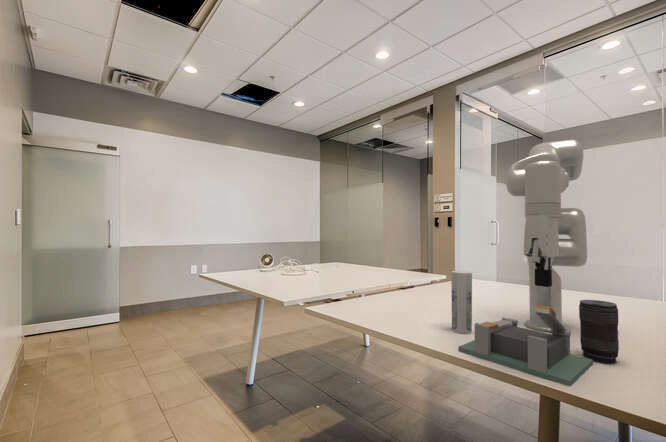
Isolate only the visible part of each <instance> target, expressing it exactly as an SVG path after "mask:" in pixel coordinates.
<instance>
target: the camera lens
mask: <svg viewBox="0 0 666 442" xmlns="http://www.w3.org/2000/svg"><path fill="white" fill-rule="evenodd" d="M578 311H579V312H578V313H579V314H578V317H579V322H580V328H579V329H580V336H579V337H580V338H579V340H580V347H581V351H582V354H583V355H582V356H583V357H584V358H588V359H592V360H593V362H596V363H601V364H607V365H608V364H609V365H610V364H611V365H613V364H616V362H617V358H618V357H619V350H620V348H619V346H620V345H619V327H618V326H619V308H618V305H617V303H615V302H610V301H605V300H596V299H581V300H579V305H578Z"/></svg>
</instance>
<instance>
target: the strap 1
mask: <svg viewBox="0 0 666 442" xmlns="http://www.w3.org/2000/svg"><path fill="white" fill-rule="evenodd" d="M501 319H502V318H501ZM479 324H483V325H488V326H490V328H491V333H493V332H496V331H499V330H501V329H504V328H507V327H509V326H512V325H513V322H512V321H507V320H503V319H502V320H496V321H494V322H493V321H492V322H491V321H484V322H480V323H479Z"/></svg>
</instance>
